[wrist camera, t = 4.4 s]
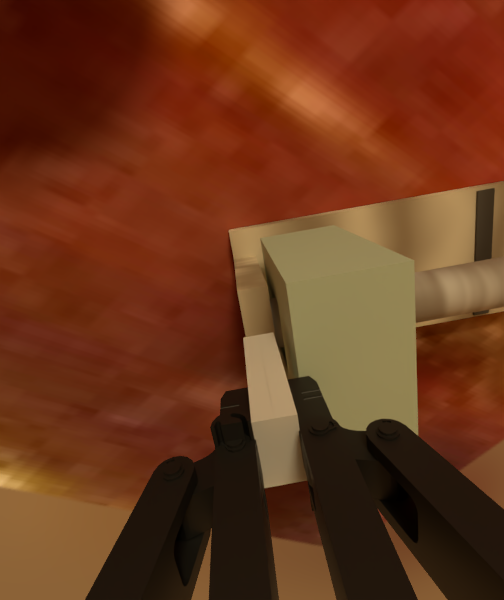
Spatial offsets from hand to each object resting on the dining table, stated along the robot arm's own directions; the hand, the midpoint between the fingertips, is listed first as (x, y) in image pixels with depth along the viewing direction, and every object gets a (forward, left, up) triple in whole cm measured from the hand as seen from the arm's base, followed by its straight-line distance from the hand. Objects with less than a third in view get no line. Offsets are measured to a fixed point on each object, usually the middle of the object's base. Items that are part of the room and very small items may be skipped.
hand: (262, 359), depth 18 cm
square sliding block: (+4, 0, -8) cm, 9 cm away
